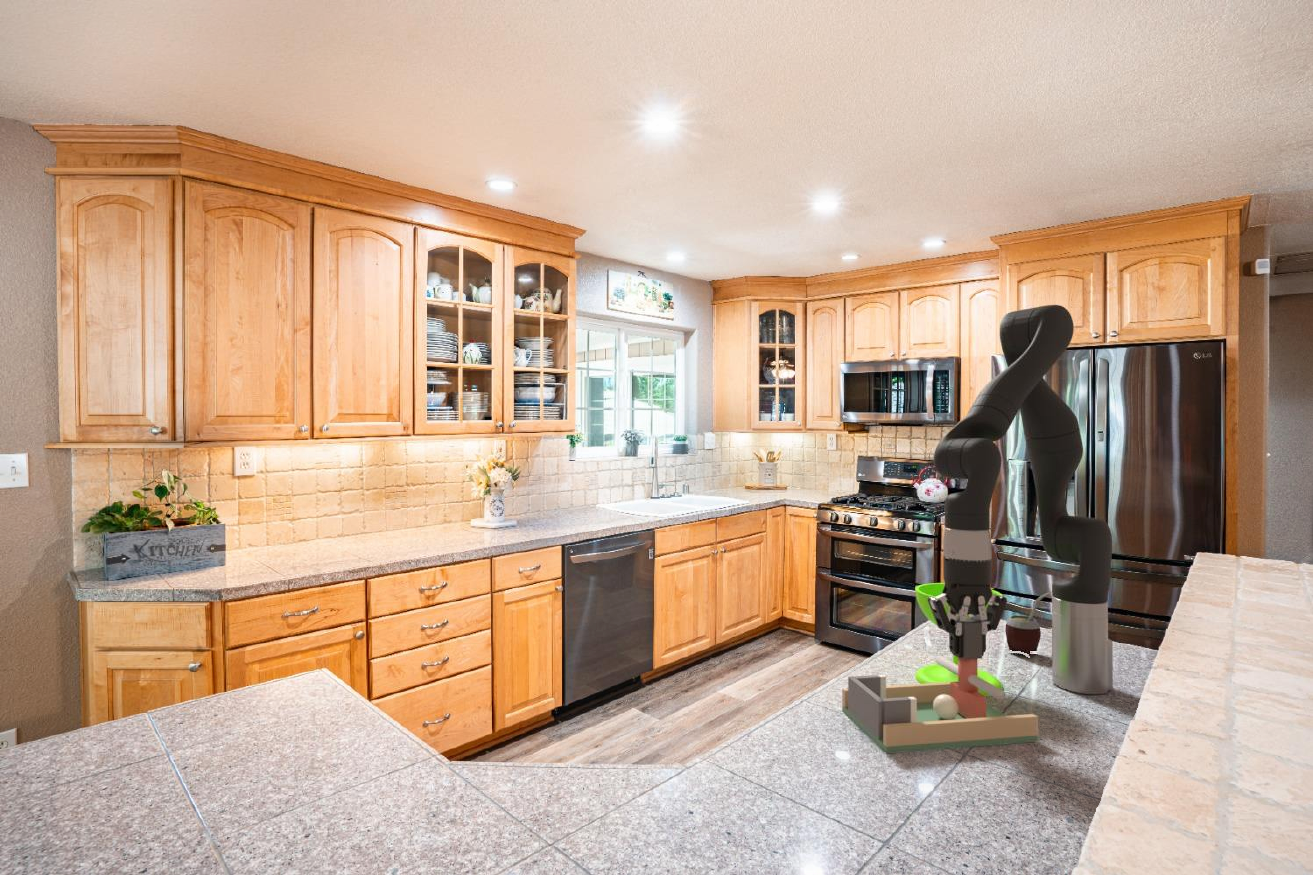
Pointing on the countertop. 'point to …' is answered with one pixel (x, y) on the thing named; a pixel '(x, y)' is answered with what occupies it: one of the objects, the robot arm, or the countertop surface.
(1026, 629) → the mate gourd
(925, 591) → the wineglass
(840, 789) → the countertop surface
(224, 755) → the countertop surface
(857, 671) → the countertop surface
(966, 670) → the striker
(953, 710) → the ball
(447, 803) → the countertop surface
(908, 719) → the pitch
